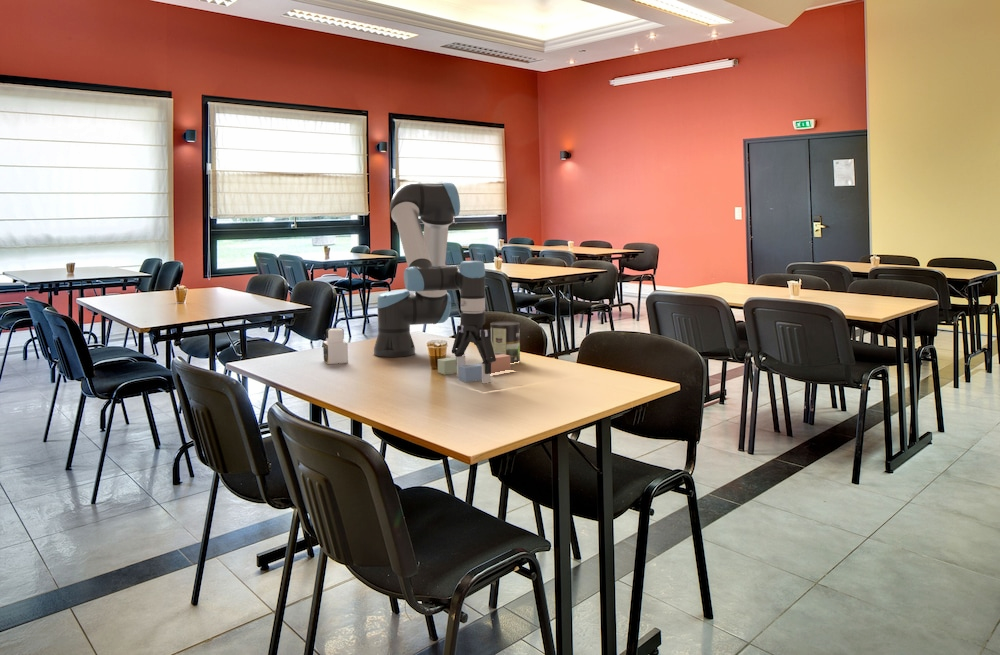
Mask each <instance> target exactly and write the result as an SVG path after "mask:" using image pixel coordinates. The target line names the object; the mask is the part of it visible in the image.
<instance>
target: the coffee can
mask: <svg viewBox="0 0 1000 655" xmlns="http://www.w3.org/2000/svg"><path fill="white" fill-rule="evenodd" d="M489 324H490V325H489V326H490V340H491V343H492V347H493V350H494V354H495V355H500V354H505V355H509V356H510V363H514V362H518V361H520V362H521V353H520V352H521V338H520V337H521V334H520V333H521V328H520V327H521V323H520V322H518V321H502V320H501V321H492V322H490V323H489Z"/></svg>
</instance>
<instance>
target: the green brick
mask: <svg viewBox="0 0 1000 655" xmlns="http://www.w3.org/2000/svg"><path fill="white" fill-rule="evenodd" d="M437 373H438V374H441V375H452V374H457V365H456V356H453V357H446V358H445V357H444V358H439V359H437Z"/></svg>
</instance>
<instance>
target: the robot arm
mask: <svg viewBox="0 0 1000 655" xmlns="http://www.w3.org/2000/svg"><path fill="white" fill-rule="evenodd" d="M389 211H390V216H391V220H392V221H393V222H394V223H395V224H396V227H397V232H398V234H399V238H400V242H401V245H402V248H403V249H402V250H403V254H404V256H405V260H406V261H405V262H406V264H407V267H406V268H405V269H404V272H403V282H404V288H405V289H400V290H399V289H397V290H396V289H395V290H391V291H386V292H382V293H380V294H379V295H378V297H377V306H376V308H377V331H378V332H377V337H376V340H375V344H374V346H373V355H374V356H376V357H384V358H398V357H399V358H400V357H401V358H403V357H409V356H412V355H414V354H416V346H415V343H414V341H413V338H412V335H411V328H410V327H411V326H414V325H415V326H416V325H436V324H443V323H445V322H446V321H448V319H449V317H450V315H451V311H452V298H451V295H450V293H449V292H448V291H457V290H458V291H460V292H459V293H460V294H459V295H460V296H459V298H460V311H461V312H460V324H461V325H457V326H456V335H455V338H454V342H453V345H452V348H451V353H452V354H453V355H454V357H456V365H457V373H456V377H457V378H459V366H463V365H466V355H465V353H466V351H467V349H468V347H469V345H470V343H471V344H472V343H473V345H474V346H475V347H476V349H477V350H478V353H479V356H480V357H481V359H482V362H481V363H482V380H481V384H482V383H487V384H489V383H488V382H491V376H490V374H491V363H492V362H494V361H496V358H495V354H494V350H493V347H492V343H491V331H490V329H483V326H484V325H485V324H486V313H485V312H484V311H486V268H485V267H486V266H485V263H484V261H481V260H462V261H461V262H460V263H459V264H457V265H446V258H447V246H448V237H449V236H448V234H449V226H450V225H452V224H453V223H454V218H457V216H459V215H460V212H461V202H460V195H459V190H458V189H457V187H456V185H455V184H454V183H452V182H443V181H409V182H406V183H405V184H402V185H400V186H399V187H398V189H397V190H396V191H395V192H394V194H393V195H392V198H391V200H390V203H389ZM419 217H420V219H419ZM420 221H421V222H422V223H423V225H424V226H423V230H422V226H421V222H420ZM410 292H415V293H410ZM491 357H492V358H491ZM486 358H487V359H486Z"/></svg>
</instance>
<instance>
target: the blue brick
mask: <svg viewBox="0 0 1000 655" xmlns="http://www.w3.org/2000/svg"><path fill="white" fill-rule="evenodd" d="M475 380H478V381H482V362H480V363H479V362H478V363H472V364H465V365H463V366H459V377H458V381H461V382H464V383H470V382H469V381H471V382H476V381H475Z"/></svg>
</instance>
